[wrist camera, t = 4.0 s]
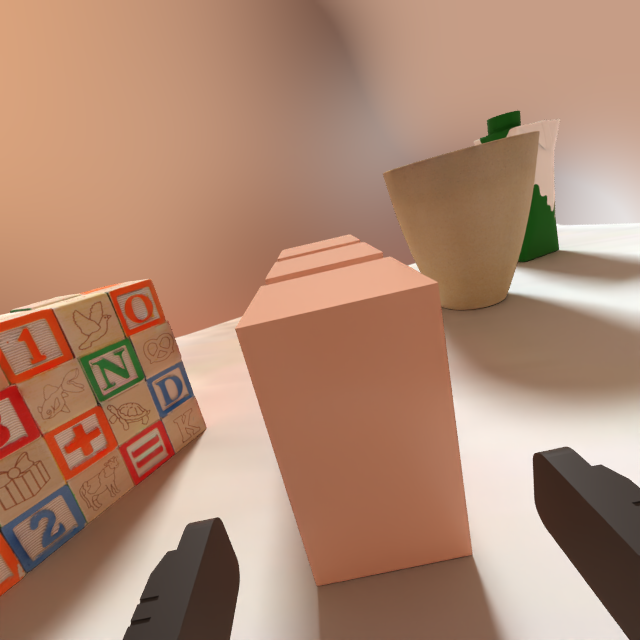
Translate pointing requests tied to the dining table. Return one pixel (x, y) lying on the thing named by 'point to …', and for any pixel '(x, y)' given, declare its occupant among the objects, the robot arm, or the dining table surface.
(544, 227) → the milk carton
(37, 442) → the stack of blocks
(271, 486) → the dining table surface
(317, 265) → the salmon rectangular block
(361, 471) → the salmon pink rectangular block
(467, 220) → the plant pot
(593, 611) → the dining table surface
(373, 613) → the dining table surface
